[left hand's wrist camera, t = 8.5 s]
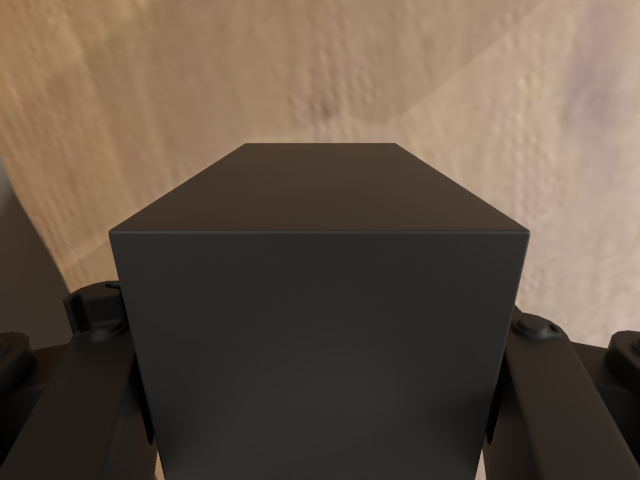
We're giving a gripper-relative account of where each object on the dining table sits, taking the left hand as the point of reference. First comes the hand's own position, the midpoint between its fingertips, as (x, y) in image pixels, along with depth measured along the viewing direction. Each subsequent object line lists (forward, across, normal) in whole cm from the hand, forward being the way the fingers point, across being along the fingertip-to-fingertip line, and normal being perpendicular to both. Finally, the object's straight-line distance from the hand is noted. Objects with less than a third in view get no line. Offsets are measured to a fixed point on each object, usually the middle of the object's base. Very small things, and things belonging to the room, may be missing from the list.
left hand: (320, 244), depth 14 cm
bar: (+1, 0, -8) cm, 8 cm away
